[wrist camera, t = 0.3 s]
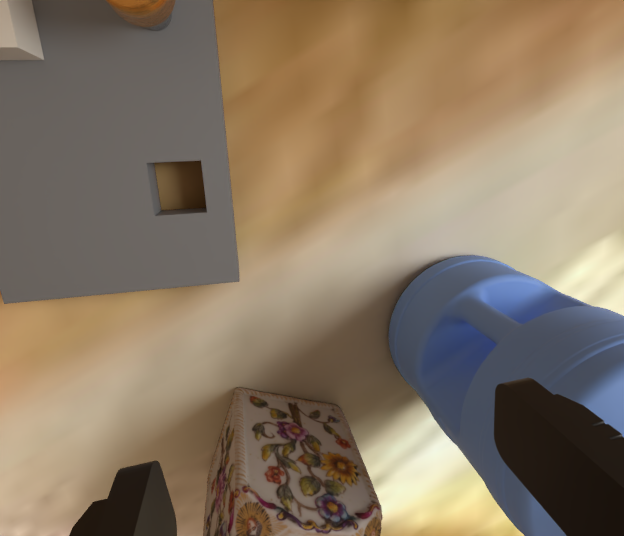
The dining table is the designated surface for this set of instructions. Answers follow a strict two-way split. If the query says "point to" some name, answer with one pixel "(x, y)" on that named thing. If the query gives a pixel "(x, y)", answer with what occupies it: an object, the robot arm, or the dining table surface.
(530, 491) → the robot arm
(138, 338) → the dining table surface
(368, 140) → the dining table surface
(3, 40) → the white boxy piece
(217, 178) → the board
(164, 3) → the orange rounded piece
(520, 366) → the water jug
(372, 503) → the decorative jar
